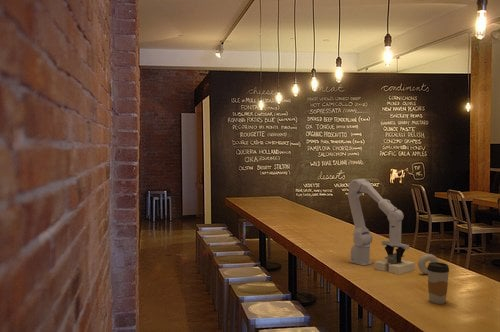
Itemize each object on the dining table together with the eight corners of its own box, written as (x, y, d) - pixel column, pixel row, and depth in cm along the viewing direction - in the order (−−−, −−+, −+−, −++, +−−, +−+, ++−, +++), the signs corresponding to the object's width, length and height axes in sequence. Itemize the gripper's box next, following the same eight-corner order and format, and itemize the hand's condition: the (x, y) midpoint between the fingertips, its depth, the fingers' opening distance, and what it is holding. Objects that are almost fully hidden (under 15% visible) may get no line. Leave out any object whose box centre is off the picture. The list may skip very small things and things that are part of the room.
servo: (384, 265, 255) (384, 254, 254) (397, 262, 262) (397, 251, 261) (391, 267, 252) (391, 255, 251) (403, 263, 259) (404, 252, 258)
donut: (419, 275, 246) (419, 254, 245) (416, 273, 249) (417, 253, 249) (440, 275, 246) (440, 254, 245) (437, 273, 249) (437, 253, 249)
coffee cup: (443, 298, 211) (444, 261, 210) (452, 304, 203) (453, 267, 202) (423, 298, 211) (424, 261, 210) (431, 304, 202) (432, 267, 202)
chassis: (374, 268, 258) (374, 261, 258) (390, 264, 267) (390, 257, 267) (399, 274, 247) (399, 267, 247) (414, 269, 256) (414, 262, 256)
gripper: (378, 233, 259) (377, 260, 260) (403, 237, 248) (403, 265, 249) (386, 231, 264) (385, 258, 264) (411, 235, 253) (411, 263, 253)
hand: (394, 261), depth 257 cm, fingers closed on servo, 4 cm apart
